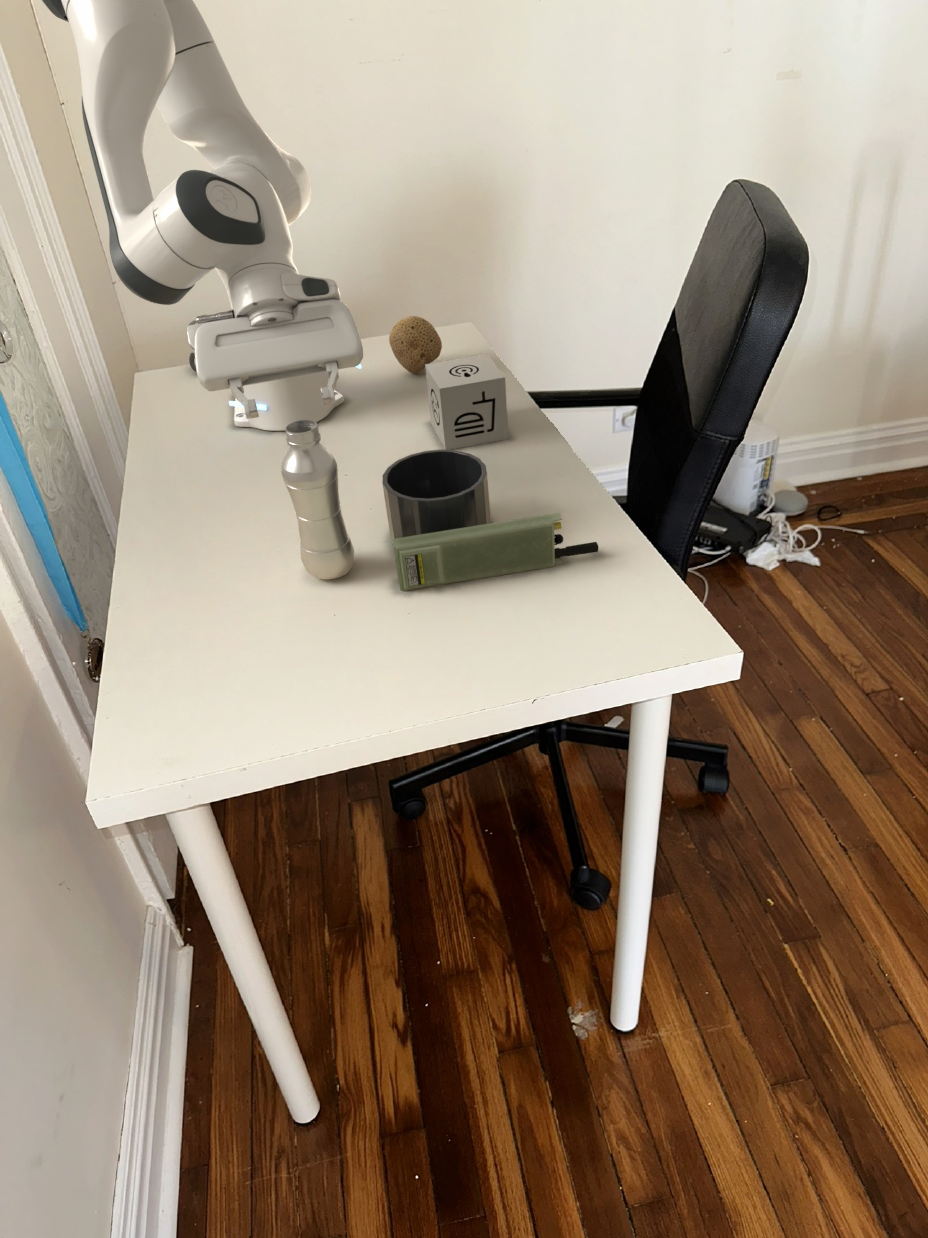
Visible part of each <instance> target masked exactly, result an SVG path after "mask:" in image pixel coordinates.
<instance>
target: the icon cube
mask: <svg viewBox="0 0 928 1238" xmlns="http://www.w3.org/2000/svg"><path fill="white" fill-rule="evenodd" d="M424 369H425V377H426V386H427V395H428V405H429V413H430V423H431V426H432V427H433V430H434V432H435V434H436V435H437V437H438V439H439V441H440V443H441V445H442V447H443V448H444V449H443V450H456V449H462V448H466V447H472V446H478V445H483V444H489V443H495V442H499V441H505V440H509V425H508V424H509V423H508V408H507V407H508V406H507V405H508V404H507V388H506V387H507V386H506V376H505V375H504V374H503V372H502V371H501V370H500V368H499V367H498V365H497V364H496V363H495V362H494V360H493V359H492V357H490V355H489V354H488V353H484V354H483V353H482V354H478V355H473V356H466V357H460V358H454V359H449V360H443V361H442V360H441V361H437V362H431V363H429V364H425V368H424Z"/></svg>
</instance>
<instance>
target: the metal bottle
mask: <svg viewBox="0 0 928 1238" xmlns="http://www.w3.org/2000/svg"><path fill="white" fill-rule="evenodd" d="M284 432H285V435H286V438H285V441H286V444H287V446H288V447H289V448H288V450H287V452H286V453H285V455H284V458H283V459H282V461H281V471H280V472H281V475H282V479H283V481H284V484H285V486H286V487H285V488H286V489H287V492H288V494H289V497H290V499H291V502H292V505H293V508H294V512H295V516H296V519H297V525H298V532H299V533H298V534H299V540H300V543H299V544H300V545H299V551H300V560H301V563H302V565H303V567H304V569H305V571H306V573H308V574H309V575H311V576H312V577H314V578H316V579H319V580H333V579H338V578H340V577H343V576H345V575H346V574H347V573H349V572H350V570H351V569H352V567H353V566H354V564H355V549H354V545H353V543H352V540H351V538H350V536H349V534H348V530H347V527H346V523H345V521H344V517H343V514H342V508H341V507H342V506H341V501H340V492H339V468H338V463H337V461H336V459H335V457H334V455H333V454H332V452H330V450H329V449H327V447H326V446H324V445H323V444H322V443H321V440H322V435H321V433H320V429H319V424H318V422H315V421H313V420H298V421H294V422H292V423H290V424H288V425H287V426H286V428H285V430H284Z"/></svg>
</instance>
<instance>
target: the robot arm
mask: <svg viewBox="0 0 928 1238" xmlns="http://www.w3.org/2000/svg"><path fill="white" fill-rule="evenodd" d="M40 1H41V2H42V3H43V4H44V5H45V6H46V8H47V9H48V10H49V11H50V12H51V14H52V15H54V17H56V18H58V19H60V20H62V21H65V22H68V23H69V26H70V29H71V32H72V33H71V34H72V37H73V40H74V45H75V49H76V55H77V60H78V65H79V72H80V85H81V111H82V120H83V126H84V132H85V135H86V140H87V144H88V148H89V152H90V157H91V159H92V160H91V161H92V163H93V168H94V171H95V175H96V178H97V182H98V186H99V190H100V194H101V198H102V201H103V206H104V210H105V214H106V218H107V223H108V233H109V234H108V235H109V239H108V240H109V241H108V242H109V244H108V245H109V247H108V249H109V255H110V260H111V263H112V266H113V268H114V271H115V273H116V275H117V276H118V279H119V280H120V281H121V283H122V284H123V285H124V286H125V287H126V288H127V290H129V291H130V292H131V293H132V294H133V295H134V296H137V297H138V298H140V299H142V300H144V301H146V302H149V303H153V304H158V305H163V306H164V305H165V306H171V305H174V304H177V303H179V302H181V300H183V298H184V297H185V296H186V295H187V294H188V293H189V292H190V291H191V290H192V289H193V288H194V287H195V285H196V284H197V283H198V282H199V281H200V280H202V279H203V278H204V277H205V276H207V275H208V274H209V273H211V272H212V270H214V269H215V270H216V272H217V274H218V276H219V277H220V279H221V281H222V283H223V285H224V287H225V290H226V293H227V296H228V300H229V303H230V307H231V309H229V310H224V311H219V312H216V313H212V314H200V315H198V316H196V319H194V320H192V321H191V322H190V323H189V324H188V326H187V328H186V337H187V341H188V344H189V346H190V348H191V349H192V350H193V351H194V352H191V353H190V354H189V359H188V361H189V366H190V368H191V370H192V371H194V372H195V373H196V376H197V379H198V381H199V384H200V385H201V386H202V387H203V388H204V389H205V390H206V391H207V392H216V391H223V390H229V389H230V392H231V394H232V396H233V397H234V401H233V400H229V401H228V405H229V406H230V407H234V408H233V409H234V410H233V422H234V426H235V427H238V428H239V427H240V428H254V429H258V430H263V431H271V432H272V431H273V432H277V431H278V432H279V431H285V428H286V426H287V425H288V424H290V423H292V422H294V421H298V420H313V421H315V422H316V423H318V422H320V421H321V420H323V419H324V418H326V417H327V416H329V415H330V413H331V412H332V411H333V410H334V409H335V408H336V407H338V406H340V405H342V404H343V403H344V402H345V400H344V396H343V394H342V393H340V392H339V391H337V390H335V389H336V386H337V383H338V381H339V370H343V369H349V368H350V369H351V368H357V369H362V364H361V363H362V361H363V358H364V346H363V342H362V339H361V335H360V332H359V329H358V326H357V323H356V321H355V319H354V316H353V314H352V311H351V309H350V308H349V307H348V305H347V304H346V303H344V302H343V301H342V298H341V292H340V289H339V288H340V287H339V286H338V283H337V282H336V281H335V280H334V279H331V278H325V277H317V276H311V275H304V274H299V270H298V268H297V266H296V265H295V263H294V260H293V259H294V258H293V252H294V251H293V249H294V246H293V240H292V236H291V231H290V226H291V225H293V224H294V222H296V221H297V220H298V219H299V218H300V217H301V215H302V214H303V213H304V212H305V211H306V210H307V208H308V206H309V204H310V202H311V198H312V182H311V179H310V176H309V174H308V171H307V170H306V168H305V166H304V165H303V163H302V162H301V161H300V160H299V159H298V158H297V157H296V156H294V155H292V154H291V153H289V152H287V151H285V150H284V149H282V148H281V147H280V146H279V145H278V144H276V143H275V141H274V140H272V138H271V137H270V135H268V134H267V132H266V131H265V130H264V129H263V127H262V126H261V125H260V123H259V122H258V120H256V118H255V117H254V116H253V114H252V113H251V112H250V110H249V108H248V107H247V105H246V104H245V102H244V101H243V98H242V97H241V95H240V93H239V91H238V89H237V86H236V85H235V82H234V80H233V78H232V76H231V74H230V72H229V70H228V68H227V65H226V63H225V61H224V59H223V57H222V55H221V52H220V50H219V49H218V46H217V44H216V42H215V40H214V38H213V35H212V33H211V31H210V29H209V27H208V25H207V23H206V22H205V20H204V17H203V16H202V13H201V12H200V10H199V9H198V8H199V7H198V6H197V5H196V3H195V1H194V0H40ZM156 106H157V109H158V111H159V112H160V115H161V116H162V118H163V121H164V122H165V125H166V126H167V128H168V130H169V132H170V133H171V134H172V135H173V137H174V138H176V139H177V140H178V141H181V142H182V143H185V144H186V145H189V146H190V147H191V148H193V149H194V150H195V151H197V152H198V153H199V154H200V155H201V156H202V158H204V160H205V161H206V162H207V163H208V165H209V166H210V167H211V168H212V170H209V171H205V170H201V169H189V170H186V171H184V172H182V173H181V174H180V175H179V176H177V177H176V178H175V179H174V180H173V181H172V182H170V183H169V184H168V185H167V186H166V187H165V188H164V189H163V190H161V192H160V193H159V194H158V195H157V196H155V195H154V192H153V188H152V184H151V180H150V175H149V172H148V169H147V164H146V161H145V160H146V159H145V154H144V153H145V152H144V151H145V150H144V145H145V136H146V131H147V128H148V125H149V122H150V119H151V117H152V114H153V112H154V110H155V107H156ZM155 197H156V198H155Z"/></svg>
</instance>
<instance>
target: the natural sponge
mask: <svg viewBox="0 0 928 1238" xmlns="http://www.w3.org/2000/svg"><path fill="white" fill-rule="evenodd" d="M388 341H389V346H390V348H391V351H392V353H393V356H394V357H395V359H396V360H397V362H398V364H399V365H401V367H403V368H404V369H405V370H406V371H407V372H409V373H411V374H413V375H417V374H419V373H421V372H422V371H424V370H425V369H426V368H425V364H430V363H434V361H435V360H437V359H438V358H439V357H440V355H441V353H442V348H443V343H442V342H443V341H442V340H441V337H440V335H439V333H438V331H437V330H436V329H435V327H434V326H433V324H432V323H431V322H430V321H428V320H427V319H425V318H424V317H421V316H417V315H410V316H409V315H408V316H407V317H405V318H402V319H400V320H398V321H397V323H395V324H394V325H393V327H392V328H391V330H390V333H389V336H388Z"/></svg>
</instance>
